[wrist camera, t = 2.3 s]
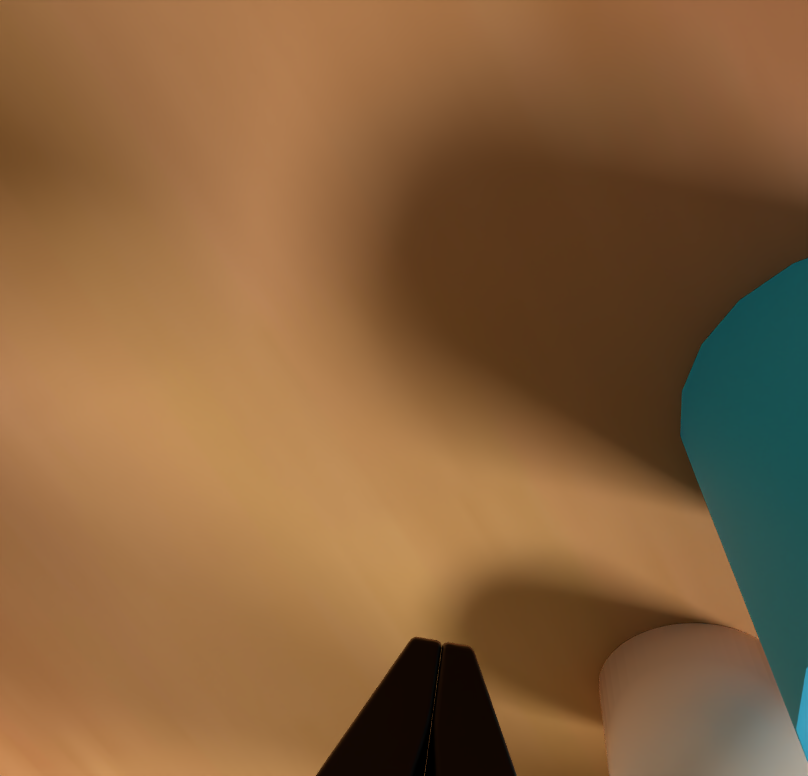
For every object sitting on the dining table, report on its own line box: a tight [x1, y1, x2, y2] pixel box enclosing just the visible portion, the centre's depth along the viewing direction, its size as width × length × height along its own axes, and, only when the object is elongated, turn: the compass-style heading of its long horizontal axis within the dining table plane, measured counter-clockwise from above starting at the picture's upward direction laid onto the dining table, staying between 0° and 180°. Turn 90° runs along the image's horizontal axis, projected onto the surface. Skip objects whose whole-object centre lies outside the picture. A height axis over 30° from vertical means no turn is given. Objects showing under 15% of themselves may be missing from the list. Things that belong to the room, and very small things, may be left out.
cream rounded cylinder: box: [599, 623, 808, 776], centre depth 19 cm, size 6×6×5 cm
